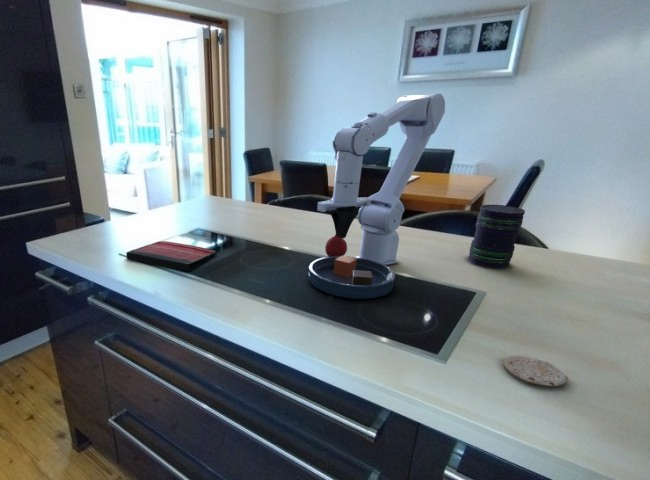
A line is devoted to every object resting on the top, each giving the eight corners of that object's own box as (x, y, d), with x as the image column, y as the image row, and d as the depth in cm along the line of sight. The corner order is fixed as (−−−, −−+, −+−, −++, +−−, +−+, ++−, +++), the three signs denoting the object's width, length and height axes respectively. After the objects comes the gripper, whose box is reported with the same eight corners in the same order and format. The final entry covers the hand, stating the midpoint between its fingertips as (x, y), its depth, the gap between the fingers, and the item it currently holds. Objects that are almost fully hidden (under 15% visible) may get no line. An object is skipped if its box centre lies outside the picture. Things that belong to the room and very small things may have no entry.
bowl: (352, 264, 106) (354, 251, 104) (411, 291, 89) (413, 277, 88) (292, 275, 98) (293, 262, 97) (344, 307, 82) (346, 292, 81)
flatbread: (509, 381, 59) (511, 376, 59) (497, 354, 65) (498, 349, 65) (575, 394, 56) (577, 388, 56) (555, 365, 63) (557, 359, 62)
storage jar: (470, 266, 104) (483, 211, 98) (464, 254, 112) (477, 203, 107) (514, 271, 101) (531, 214, 95) (504, 259, 109) (520, 206, 103)
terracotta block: (355, 273, 98) (356, 258, 96) (348, 278, 95) (350, 263, 93) (340, 269, 100) (341, 255, 99) (333, 274, 97) (334, 259, 96)
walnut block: (368, 287, 90) (371, 271, 89) (370, 294, 87) (372, 277, 85) (350, 285, 91) (352, 269, 90) (351, 292, 87) (353, 276, 86)
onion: (346, 264, 105) (349, 236, 102) (324, 263, 106) (327, 235, 103) (344, 257, 110) (347, 230, 107) (323, 256, 111) (326, 229, 108)
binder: (188, 263, 100) (125, 251, 109) (188, 272, 100) (126, 259, 109) (218, 248, 113) (160, 239, 122) (218, 256, 114) (160, 246, 123)
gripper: (358, 177, 98) (352, 229, 103) (311, 181, 92) (307, 236, 97) (379, 181, 92) (371, 236, 97) (330, 186, 86) (324, 244, 92)
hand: (340, 237), depth 97 cm, fingers closed
